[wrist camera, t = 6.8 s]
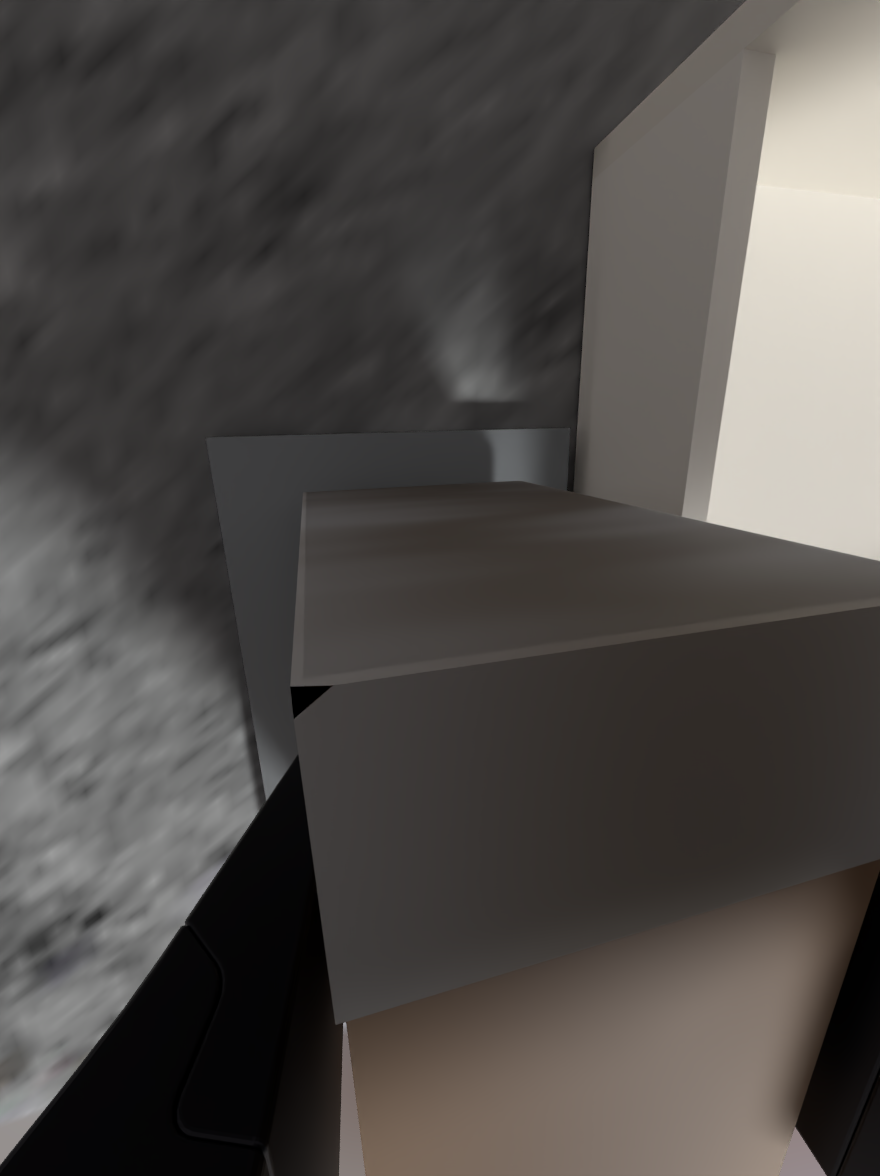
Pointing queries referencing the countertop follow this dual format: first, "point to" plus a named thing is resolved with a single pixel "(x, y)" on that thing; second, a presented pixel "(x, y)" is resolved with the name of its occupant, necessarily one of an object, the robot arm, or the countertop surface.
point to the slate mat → (273, 522)
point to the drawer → (743, 284)
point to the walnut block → (581, 823)
